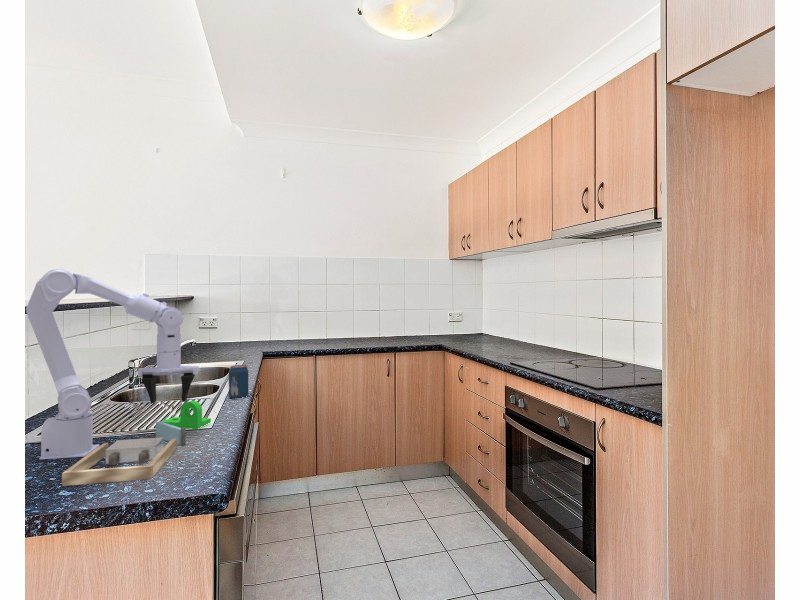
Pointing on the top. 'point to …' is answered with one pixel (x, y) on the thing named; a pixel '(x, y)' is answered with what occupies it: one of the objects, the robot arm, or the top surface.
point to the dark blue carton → (238, 381)
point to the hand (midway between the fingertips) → (168, 401)
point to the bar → (168, 432)
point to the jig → (84, 476)
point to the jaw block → (135, 449)
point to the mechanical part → (189, 417)
